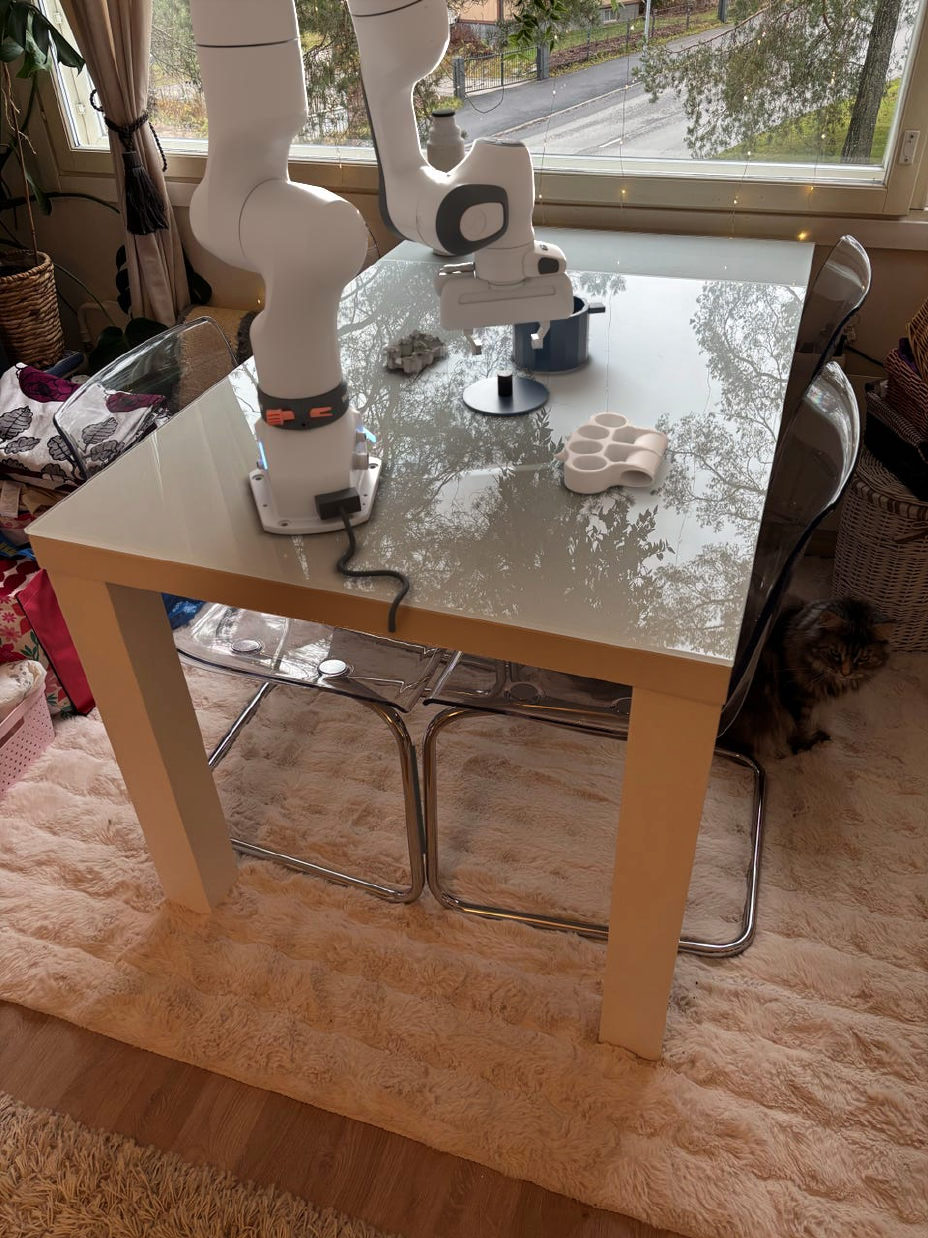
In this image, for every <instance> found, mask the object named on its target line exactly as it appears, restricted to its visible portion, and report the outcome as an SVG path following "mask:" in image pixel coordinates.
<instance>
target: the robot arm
mask: <svg viewBox="0 0 928 1238" xmlns="http://www.w3.org/2000/svg"><path fill="white" fill-rule="evenodd" d="M188 1H189V2H188V3H189V12H190V19H191V26H192V27H191V28H192V32H193V39H194V43H195V49H196V55H197V61H198V66H199V72H200V78H201V84H202V91H203V97H204V105H205V110H206V118H207V131H208V133H207V134H208V139H207V141H208V142H207V155H206V156H207V157H206V163H205V164H206V165H205V170H204V175H203V177H202V180H201V181H200V183H199V184H198V185H197V187H196V188H195V190H194V192H193V194H192V196H191V200H190V203H189V213H188V214H189V215H188V216H189V221H190V223H189V224H190V228H191V231H192V234H193V236H194V237H195V239H196V241H197V242H198V243H199V245H200V246H201V247H202V248H203V249H205V250H206V251H207V252H208V253H210V254H212V255H213V256H214V257H216V258H217V259H219V260H220V261H223V262H224V263H226V264H227V265H229V266H231V267H234V268H238V269H241V270H244V271H248V272H252V273H255V274H258V275H260V276H261V278H262V279H263V281H264V286H265V299H264V300H265V301H264V308H263V309H262V311H261V312H260V313H258V314H256V316H255V318H254V319H253V320H252V321H251V324H250V327H249V338H250V339H249V340H250V344H251V349H252V355H253V359H254V365H255V369H256V376H257V381H258V383H257V385H256V393H257V394H256V395H257V396H256V398H257V405H258V406H259V411H260V417H259V418H258V419H257V420H256V422H254V424H253V427H254V431H255V437H256V442H257V447H258V452H259V457H260V459H256V462H255V463H256V467H257V468H256V469H254V470H252V471H250V472H249V474H248V482H249V485H250V488H251V492H252V496H253V499H254V503H255V506H256V509H257V512H258V516H259V519H260V523H261V526H262V529H263V531H265V532H267V533H268V532H269V533H273V534H279V535H307V534H318V533H327V532H332V531H339V530H343V529H345V531H346V534H347V537H348V541H349V547H348V550H347V551H346V553H345V554H344V555H342V557H340V558H339V560H338V561H337V563H336V568H337V570H338V572H340V573H341V575H344V576H347V577H351V578H370V577H390V578H395V579H398V580H399V581H400V582H401V583H402V588H401V590H400V591H399V592H398V593H397V595H396V597H395V598H394V600H393V601H392V603H391V606H390V608H389V612H388V619H387V625H388V632H389V633H391V634H393V633H395V632H396V613H397V610H398V607H399V606H400V604H401V602H402V601H403V600H404V598H405V596H407V594H408V592H409V590H410V586H411V585H410V581H409V579H408V578H407V577H406V576H405V575H404V574H403V573H401V572H399V571H396V570H393V569H371V570H352V569H348V568H346V567H345V566H344V564H346V563H347V561H349V560H350V558H352V556H353V555H354V553H355V550H356V545H357V542H356V537H355V533H354V531H353V528H352V527H354V526H357V525H360V524H362V523H364V522H367V521H368V520H369V519H370V516H371V512H372V510H373V505H374V502H375V499H376V495H377V492H378V488H379V484H380V479H381V478H380V476H381V473H382V468H383V462H382V459H380V458H377V457H374V456H370V455H369V452H368V447H367V438H368V439H369V440H370V441H372V443H376V442H377V438H376V435H374V434H373V433H372V432H370V431H369V430H368V429H367V428H365V426H364V419H363V415H362V413H361V412H359V411H358V410H356V409H355V408H354V407H353V406H352V405H351V403H350V395H349V393H350V389H349V384H348V382H347V376H346V374H345V373H344V372H343V370H342V360H341V352H340V341H339V330H338V314H339V308H340V302H341V299H342V295H343V293H344V291H345V289H346V287H347V285H349V284H350V283H351V282H352V281H353V280H354V279H355V278H356V277H357V275H358V274H359V272H360V271H361V269H362V267H363V266H364V263H365V260H366V257H367V254H368V253H367V252H368V246H369V243H368V240H369V239H368V230H367V225H366V222H365V220H364V218H363V215H362V213H361V212H360V210H359V209H358V208H357V207H356V206H355V205H353V204H352V203H351V202H349V201H347V200H346V199H344V198H342V197H341V196H338V195H337V194H335V193H333V192H331V191H329V190H327V189H325V188H323V187H320V186H315V185H311V184H310V185H309V184H305V183H299V182H295V181H291V179H290V175H289V157H290V156H289V155H290V149H291V146H292V145H291V144H292V141H293V139H294V138H295V137H296V136H297V135H298V134H300V132H301V131H302V130H303V129H304V128H305V125H306V123H307V121H308V118H309V105H308V104H309V103H308V95H307V87H306V79H305V70H304V63H303V62H304V61H303V55H302V47H301V38H300V30H299V23H298V17H297V12H296V6H295V0H188ZM346 3H347V7H348V10H349V14H350V18H351V21H352V24H353V28H354V33H355V36H356V41H357V47H358V52H359V59H360V60H359V77H360V87H361V92H362V98H363V102H364V103H363V104H364V107H365V111H366V117H367V122H368V126H369V130H370V135H371V140H372V145H373V149H374V155H375V158H376V159H375V160H376V164H377V172H378V198H377V199H378V210H379V215H380V218H381V221H382V223H383V224H384V226H385V227H386V229H387V231H389V232H390V234H391V235H393V236H394V237H396V238H398V239H400V240H404V241H409V242H413V243H418V244H420V245H423V246H426V247H427V248H431V249H432V250H433V249H436V250H440V251H442V252H445V253H448V254H451V256H457V257H463V256H468V255H471V254H473V262H465V263H460V264H446V265H443V266H442V267H443V268H440V269H439V270H438V271H436V273H435V275H434V276H433V277H434V278H433V283H434V284H433V285H434V291H435V293H436V295H437V296H438V321H439V325H440V327H441V328H442V329H443V330H444V331H446V332H453V331H462V332H463V335H464V337H465V339H466V340H467V341H468V343H469V345H470V352H471V356H472V357H473V356H474V357H475V356H482V355H483V345H482V343H481V341H482V340H480V339H478V340H475V338H474V337H473V335H474V333H475V332H474V329H481V328H490V327H500V326H510V325H512V324H520V323H530V322H539V324H540V328H539V330H538V332H537V334H533V335H531V339H532V341H531V342H532V347H533V349H540V348H543V338H544V336H545V335H546V333H547V331H548V330H549V328H550V320H558V319H567V318H569V317H570V316H571V314H572V313H573V311H574V299H573V294H574V291H573V290H574V289H573V284H572V280H571V278H570V276H569V274H568V273H567V271H566V270H567V267H568V265H567V263H568V262H567V259H566V257H565V254H564V253H563V251H562V249H560V248H559V247H558V246H557V245H555V244H552V243H547V242H543V241H539V240H536V239H535V236H536V235H535V231H534V227H533V222H532V221H533V219H532V218H533V212H534V209H535V177H534V167H533V161H532V156H531V152H530V150H529V148H528V146H527V145H526V144H525V143H524V142H522V141H520V140H517V139H513V138H510V137H502V136H496V135H495V136H494V135H493V136H492V135H486V136H480V137H478V138H475V139H474V141H473V143H472V146H471V149H470V151H469V152H468V153H467V154H466V155H465V159H464V160H463V161H462V162H461V163H460V164H459V165H458V166H457V167H455V168H454V169H453V170H451V171H450V172H448V173H444V172H440V171H437V170H435V169H434V168H433V167H432V166H431V165H430V164H429V163H428V160H427V159H426V158H425V156H424V155H423V151H422V149H421V142H420V138H419V130H418V126H417V119H416V114H415V109H414V108H415V107H414V102H413V93H414V88H415V86H416V85H417V83H418V82H420V81H422V79H424V78H426V77H427V76H428V75H430V74H432V73H433V71H434V70H435V69H436V68H437V67H438V66H439V64H440V63H441V61H442V59H443V58H444V56H445V54H446V51H447V49H448V46H449V43H450V19H449V11H448V5H447V4H448V3H447V0H346ZM408 749H409V758H410V766H411V767H410V768H411V776H412V784H413V793H414V794H413V795H414V803H415V813H416V820H417V822H416V823H417V829H418V838H419V845H420V852H421V854H422V855H426V854H427V852H428V851H427V843H426V834H425V826H424V814H423V807H422V797H421V786H420V777H419V767H418V758H417V750H416V745H414V744H412V745H408Z"/></svg>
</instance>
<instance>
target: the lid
mask: <svg viewBox="0 0 928 1238" xmlns="http://www.w3.org/2000/svg"><path fill="white" fill-rule="evenodd" d="M513 374H514V373H513V371H511V370H509V369H503V370H499V371H498V372H497V374H496V376H492V377H487V378H483V379H480V380H477V381H475V382H473V383H471V384H470V385H468V386H467V387H465V389H464V390H463V392H462V402H463V404H464V405H465V407H467V408H468V409H470V410H471V411H474V412H476V413H478V414H482V415H486V416H493V417H513V416H514V417H515V416H521V415H526V414H529V413H531V412H534V411H536V410H538V409H541V408H542V407H543V406H545V404H546V403H547V402H548V400H549V390H548V389H547V387H546V386H545V385H544V384H543V383H541V382H539V381H538V380H535V379H532V378H529V377H524V376H517V375H513Z"/></svg>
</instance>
